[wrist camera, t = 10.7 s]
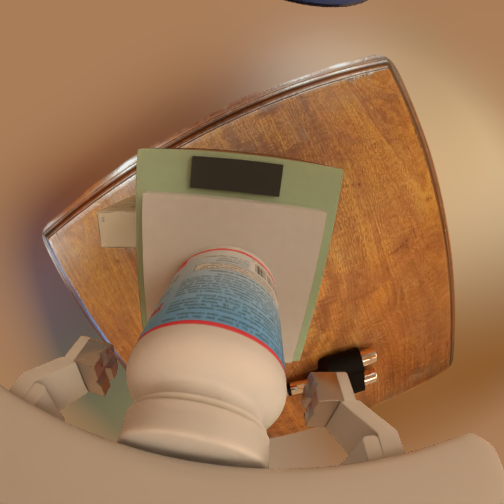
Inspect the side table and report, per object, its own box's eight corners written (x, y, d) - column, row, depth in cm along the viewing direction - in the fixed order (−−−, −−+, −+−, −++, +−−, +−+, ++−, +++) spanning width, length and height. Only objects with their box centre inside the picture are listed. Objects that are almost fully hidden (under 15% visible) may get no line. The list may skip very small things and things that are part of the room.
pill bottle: (167, 247, 15) (56, 394, 5) (272, 238, 15) (297, 416, 5) (187, 331, 18) (139, 483, 7) (278, 327, 17) (292, 494, 7)
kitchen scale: (149, 148, 16) (131, 149, 13) (334, 167, 16) (348, 171, 14) (152, 327, 21) (141, 348, 18) (296, 344, 21) (300, 368, 19)
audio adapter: (378, 390, 45) (260, 420, 49) (371, 373, 50) (260, 401, 54) (379, 355, 42) (243, 390, 45) (369, 337, 47) (244, 370, 50)
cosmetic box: (138, 220, 39) (98, 248, 28) (136, 193, 38) (93, 211, 26) (176, 221, 39) (146, 250, 28) (176, 192, 38) (143, 211, 26)
